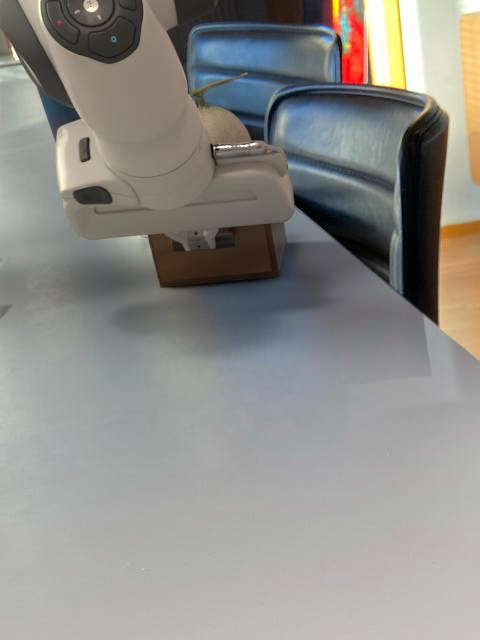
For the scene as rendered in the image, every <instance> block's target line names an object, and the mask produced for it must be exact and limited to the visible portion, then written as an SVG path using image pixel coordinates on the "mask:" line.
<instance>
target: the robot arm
mask: <svg viewBox="0 0 480 640" xmlns="http://www.w3.org/2000/svg"><path fill="white" fill-rule="evenodd" d="M218 2H219V0H0V29H1V31H2V33H3V34H4V36H5V37H6V38H7V40H8V41H9V43H10V44H11V46H12V48H13V50H14V52H15V54H16V56H17V58H18V60H19V62H20V64H21V66H22V68H23V69H24V71H25V72H26V74H27V75H28V77H29V78H30V80H31V81H32V83H33V84H34V85H35V87H36V86H37V87H38V88H39V90H40V91H41V92H42V93H43V94H45V95H47V96H48V97H50V98H52V99H54V100H56V101H58V102H59V103H61V104H63V105H66V106H68V107H71V108H75V109H76V111H77V113H78V114H79V116H80V118H81V119H79V120H76V121H73V122H71V123H68V124H65V125H63V126H61V127H59V128H58V130H57V137H56V143H55V170H56V181H57V187H58V192H59V196H60V197H61V199H62V207H63V212H64V215H65V217H66V220H67V221H68V223H69V225H70V227H71V229H72V230H73V232H74V233H75V234H76V235H77V236H78V237H81V238H84V239H86V240H89V241H95V240H106V239H117V238H126V237H138V236H140V235H150V234H161V233H164V234H165V236H167V237H169V238H171V239H173V240H175V241H177V242H179V243H182V245H183V247H184V249H185V251H193V250H203V249H215V248H216V244H215V236H216V234H217V232H218V231H219V228H226V227H236V226H247V225H258V224H269V223H280V222H284V223H286V222H288V221H289V220H290V219H291V218H292V217H293V216H294V215H295V212H296V211H295V198H294V197H295V196H294V189H293V183H292V180H291V177H290V174H289V173H288V171H289V163H288V160H287V156H286V153H285V151H284V149H283V148H281V147H280V146H275V145H271V144H267V143H265V141H264V140H256V139H255V140H252V141H249V142H242V143H222V144H213V145H212V144H211V142H210V139H209V136H208V134H207V131H206V128H205V126H204V123H203V121H202V118H201V115H200V113H199V110H198V106H197V104H196V102H195V100H194V99H193V97H191V96H190V95H189V94H190V93H189V88H188V81H187V77H186V74H185V71H184V68H183V65H182V62H181V59H180V58H179V56H178V53H177V50H176V49H175V46H174V44H173V42H172V39H171V38H170V36H169V34H168V31H169V30H171V29H173V28H174V27H178V28H179V27H181V26H183V25H186V24H189V23H191V22H192V21H195V20H196V19H199V18H201V17H204V16H206V15H208V14H211V13H213V12H215V9H216V7H217V5H218ZM37 87H36V88H37Z"/></svg>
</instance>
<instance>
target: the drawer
mask: <svg viewBox="0 0 480 640" xmlns="http://www.w3.org/2000/svg"><path fill="white" fill-rule="evenodd" d="M151 238H152V242H153V246H154V250H155V254H156V259H157V263H158V267H159V271H160V275H161V279H162V281H173V280H184V279H195V278H207V277H218V276H229V275H240V274H251V273H262V272H272V263H271V257H270V252H269V246H268V240H267V235H266V229H265V224H258V225H247V226H236V227H226V228H219V231H218V232H217V234H216V236H215V244H216V248H215V249H203V250H193V251H185V249H184V247H183V245H182V243H179V242H177V241H175V240H173V239H171V238H169V237H167V236H165V234H164V233H161V234H151Z"/></svg>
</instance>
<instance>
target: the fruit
mask: <svg viewBox="0 0 480 640" xmlns="http://www.w3.org/2000/svg"><path fill="white" fill-rule="evenodd" d="M247 76H249V73H248V72H245V73H242V74H240V75H238V76H233V77H228V78H224V79H220V80H217V81H213V82H210V83H208V84H205V85H204V86H201V87H199V88H196V89H195V90H193V91H191V92H190V93H188V94H189V95H190V96H191V97H192V98H194V97H195V98H196V99H197V102H198V106H197V108H198V110H199V113H200V115H201V118H202V121H203V123H204V126H205V128H206V131H207V134H208V136H209V139H210V142H211V144H212V145H213V144H222V143H242V142H249V141H253V140H252V138H251V136H250V133H249V130H248V129H247V127H246V126H245V124H244V123H243V121H241V119H240V118H238V116H236V114H234V112H232V111H230V110H228V109H226V108H223V107H221V106H216V105H207V104H206V103H205V99H204V94H206V93H207V92H208V91H210V90H211V89H213V88H215V87H219V86H222V85H225V84H227V83H231V82H233V81H236V80H239V79H242V78H245V77H247Z"/></svg>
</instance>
